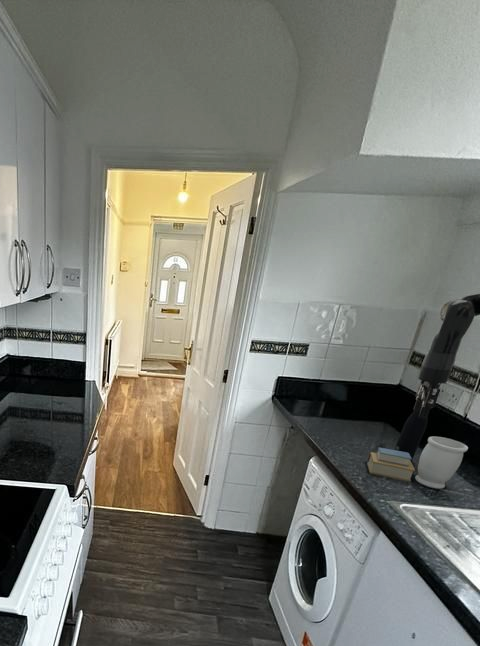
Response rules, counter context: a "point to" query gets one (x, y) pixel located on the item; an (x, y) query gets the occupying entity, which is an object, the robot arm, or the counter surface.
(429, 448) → the jar
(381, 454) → the pocket book
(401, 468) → the big book
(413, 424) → the wine bottle
